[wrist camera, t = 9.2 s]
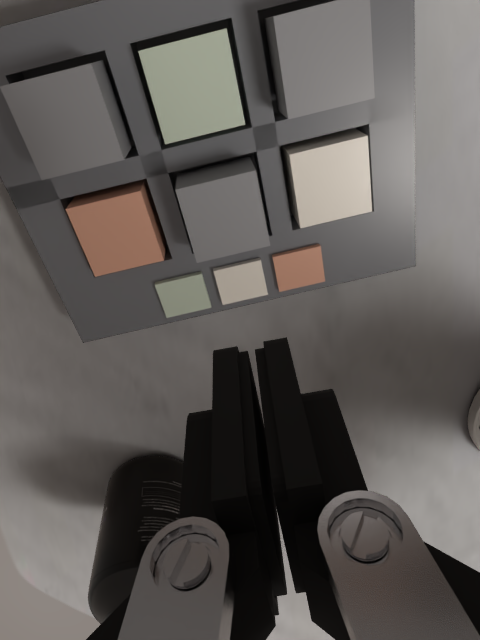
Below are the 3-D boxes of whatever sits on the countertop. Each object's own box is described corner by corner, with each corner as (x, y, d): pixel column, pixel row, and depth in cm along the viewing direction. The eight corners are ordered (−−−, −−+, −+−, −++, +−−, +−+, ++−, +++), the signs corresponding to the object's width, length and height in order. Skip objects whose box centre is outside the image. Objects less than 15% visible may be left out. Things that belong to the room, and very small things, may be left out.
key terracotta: (145, 175, 22) (140, 190, 20) (166, 240, 24) (164, 260, 22) (77, 192, 22) (65, 209, 20) (103, 255, 24) (95, 276, 22)
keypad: (388, -69, 18) (437, -94, 15) (397, 247, 26) (430, 282, 22) (-37, 43, 19) (-92, 45, 15) (91, 318, 26) (75, 363, 23)
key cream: (350, 125, 21) (367, 135, 19) (356, 195, 23) (372, 211, 21) (280, 143, 22) (289, 154, 19) (290, 210, 23) (300, 228, 21)
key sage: (222, 29, 19) (226, 28, 17) (240, 115, 21) (245, 124, 19) (144, 49, 19) (138, 51, 17) (168, 133, 21) (165, 144, 19)
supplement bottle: (89, 478, 34) (44, 669, 24) (161, 437, 32) (146, 623, 22) (149, 522, 37) (132, 705, 27) (217, 486, 35) (227, 667, 25)
